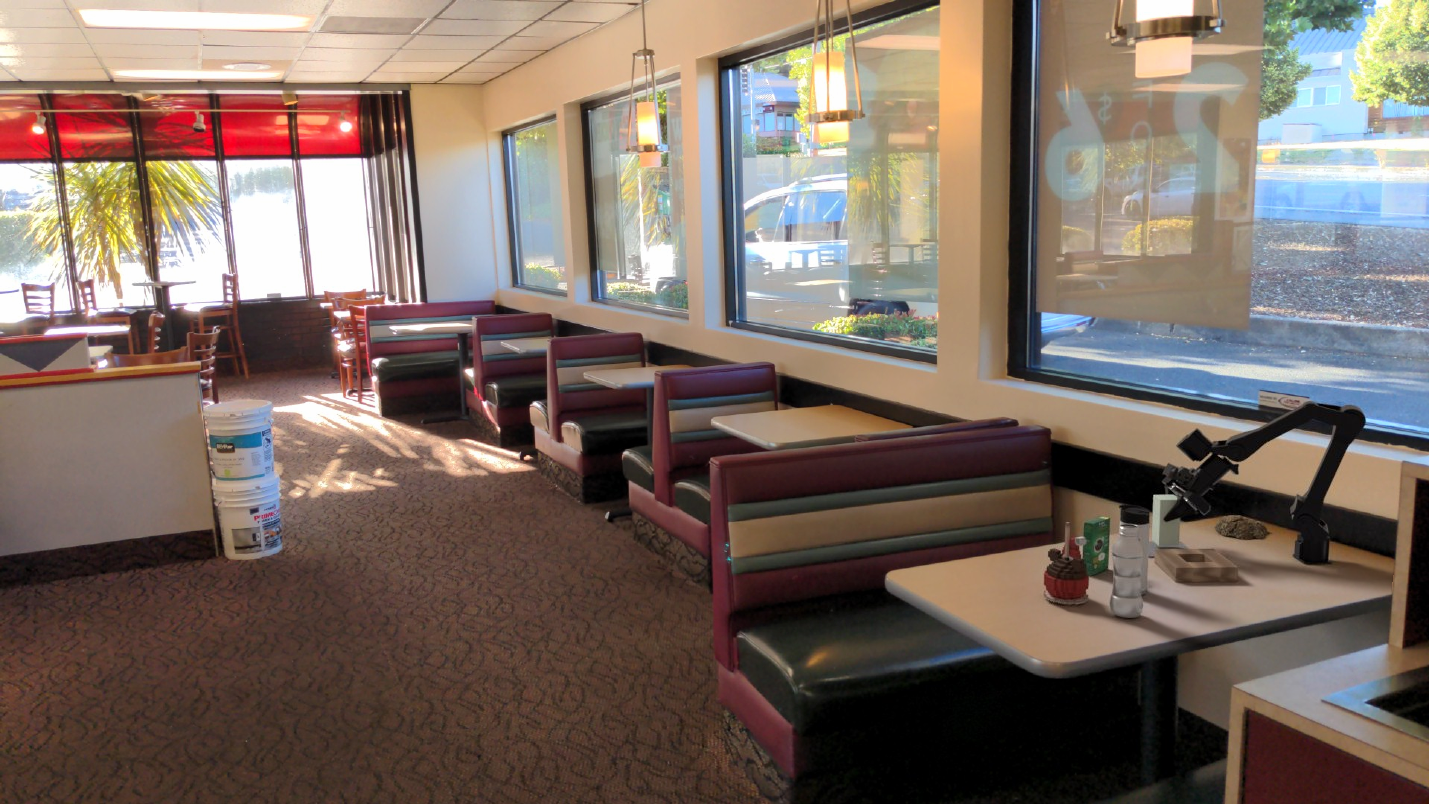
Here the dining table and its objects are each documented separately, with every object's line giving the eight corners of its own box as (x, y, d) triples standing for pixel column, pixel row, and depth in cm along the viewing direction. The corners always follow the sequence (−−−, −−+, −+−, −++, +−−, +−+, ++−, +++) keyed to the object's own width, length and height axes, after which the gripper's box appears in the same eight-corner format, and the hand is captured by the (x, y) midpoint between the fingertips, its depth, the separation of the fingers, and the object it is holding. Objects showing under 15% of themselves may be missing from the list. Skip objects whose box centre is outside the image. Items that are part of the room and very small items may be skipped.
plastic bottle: (1145, 622, 218) (1149, 531, 214) (1111, 620, 219) (1114, 530, 216) (1139, 611, 224) (1143, 522, 221) (1106, 609, 225) (1109, 521, 222)
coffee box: (1098, 566, 253) (1100, 514, 251) (1109, 569, 251) (1111, 516, 249) (1080, 573, 248) (1082, 521, 246) (1091, 576, 246) (1093, 523, 244)
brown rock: (1219, 524, 285) (1220, 507, 284) (1269, 531, 278) (1270, 513, 277) (1209, 536, 275) (1210, 518, 274) (1261, 543, 268) (1262, 525, 267)
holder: (1212, 562, 254) (1213, 548, 253) (1237, 581, 240) (1238, 567, 239) (1154, 562, 255) (1154, 549, 254) (1175, 582, 241) (1176, 567, 240)
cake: (1033, 595, 235) (1034, 519, 232) (1065, 589, 239) (1067, 514, 236) (1066, 611, 225) (1068, 531, 222) (1099, 603, 229) (1101, 525, 226)
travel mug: (1123, 584, 240) (1126, 501, 237) (1151, 591, 236) (1155, 506, 232) (1111, 591, 236) (1114, 507, 233) (1139, 598, 231) (1143, 512, 228)
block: (1171, 539, 266) (1173, 494, 264) (1179, 545, 261) (1180, 499, 259) (1151, 540, 266) (1153, 494, 264) (1158, 545, 261) (1160, 499, 259)
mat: (1179, 542, 269) (1179, 541, 269) (1198, 557, 258) (1198, 555, 258) (1132, 543, 270) (1132, 541, 270) (1148, 557, 258) (1148, 556, 258)
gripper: (1171, 445, 269) (1126, 487, 271) (1199, 461, 250) (1151, 506, 253) (1201, 474, 269) (1156, 515, 272) (1231, 492, 251) (1183, 536, 254)
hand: (1160, 517), depth 263 cm, fingers closed on block, 5 cm apart
